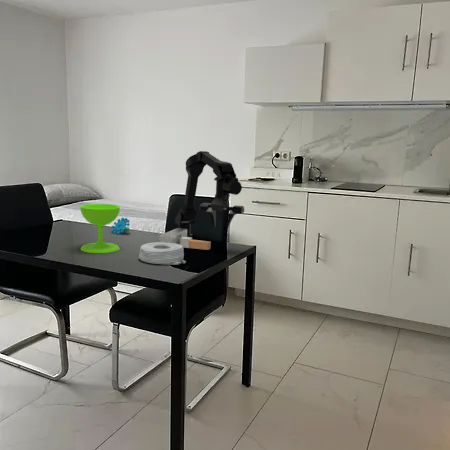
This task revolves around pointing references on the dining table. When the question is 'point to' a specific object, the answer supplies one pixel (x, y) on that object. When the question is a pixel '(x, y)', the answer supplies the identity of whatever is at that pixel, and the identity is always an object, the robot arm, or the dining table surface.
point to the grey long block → (173, 236)
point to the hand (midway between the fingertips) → (220, 227)
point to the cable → (162, 253)
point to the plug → (194, 243)
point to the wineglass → (100, 225)
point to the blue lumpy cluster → (121, 226)
